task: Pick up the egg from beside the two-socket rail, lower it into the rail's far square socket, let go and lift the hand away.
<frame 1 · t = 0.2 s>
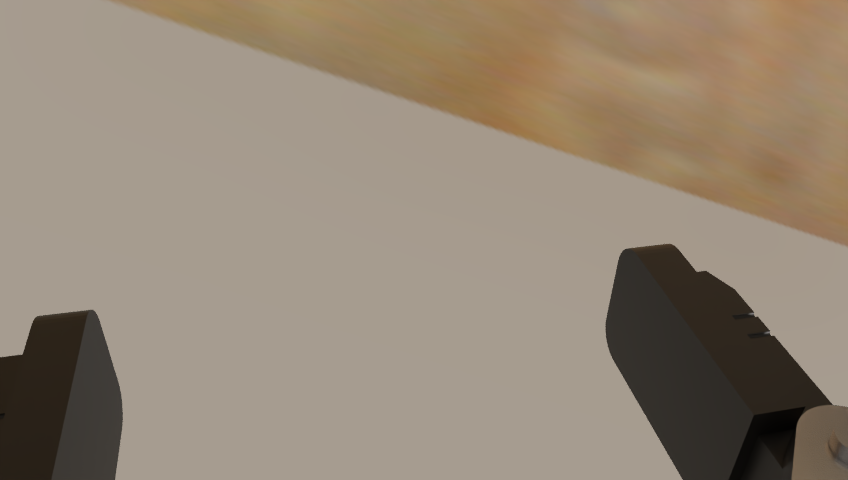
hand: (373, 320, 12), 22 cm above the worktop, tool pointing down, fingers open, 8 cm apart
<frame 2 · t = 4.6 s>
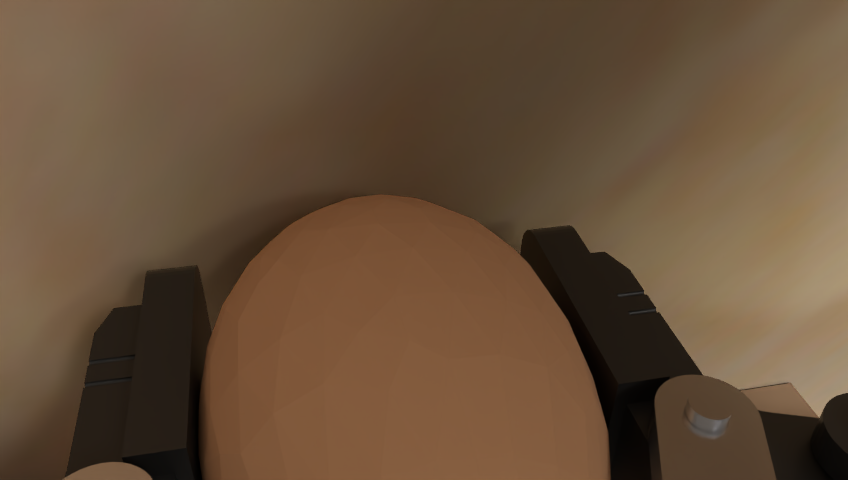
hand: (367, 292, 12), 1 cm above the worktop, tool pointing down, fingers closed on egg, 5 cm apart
egg: (358, 244, 13), on the worktop, touching gripper
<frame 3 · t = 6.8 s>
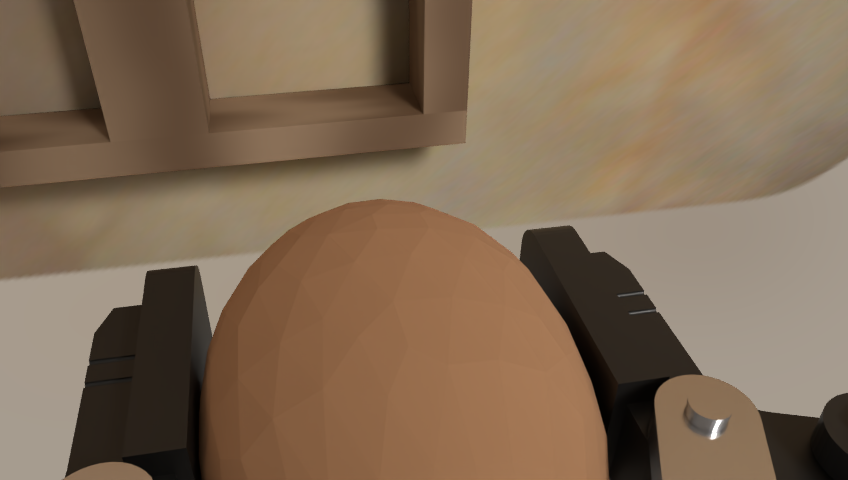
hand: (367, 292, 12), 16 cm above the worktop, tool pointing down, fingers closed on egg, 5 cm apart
egg: (358, 248, 13), point 14 cm above the worktop, touching gripper
egg rail: (143, 1, 24), on the worktop
when the fingers open (3 cm above the worktop, at t = 9.1 s): egg drops 2 cm, resting in egg rail.
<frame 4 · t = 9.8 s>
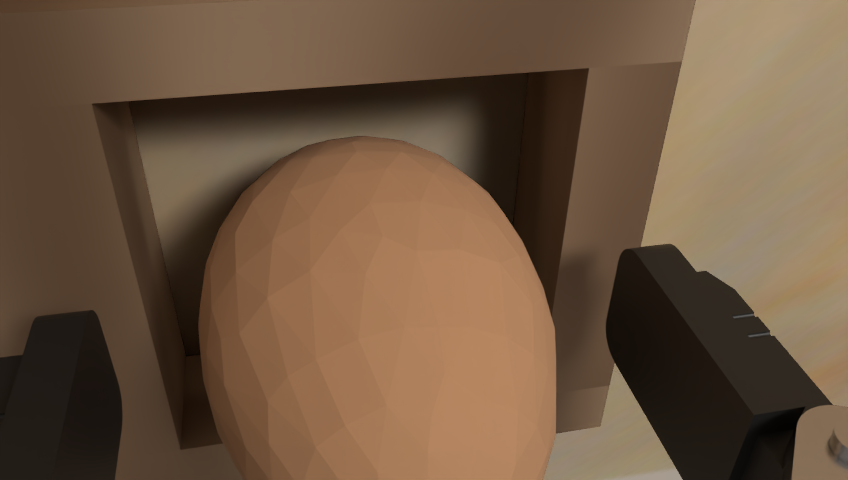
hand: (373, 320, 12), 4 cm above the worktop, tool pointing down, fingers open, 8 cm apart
egg: (338, 192, 15), resting in egg rail
egg rail: (68, 227, 14), on the worktop
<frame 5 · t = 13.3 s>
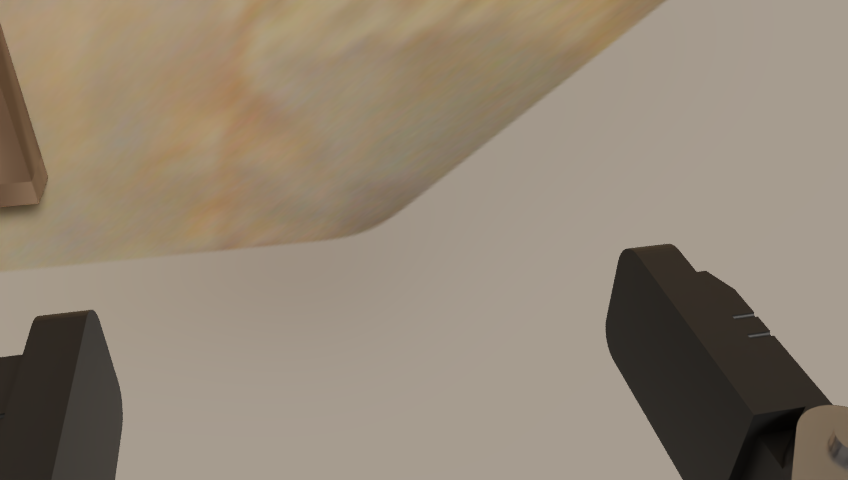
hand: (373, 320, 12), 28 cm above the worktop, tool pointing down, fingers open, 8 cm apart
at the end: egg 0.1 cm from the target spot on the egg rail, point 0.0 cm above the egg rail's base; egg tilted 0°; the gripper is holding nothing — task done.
